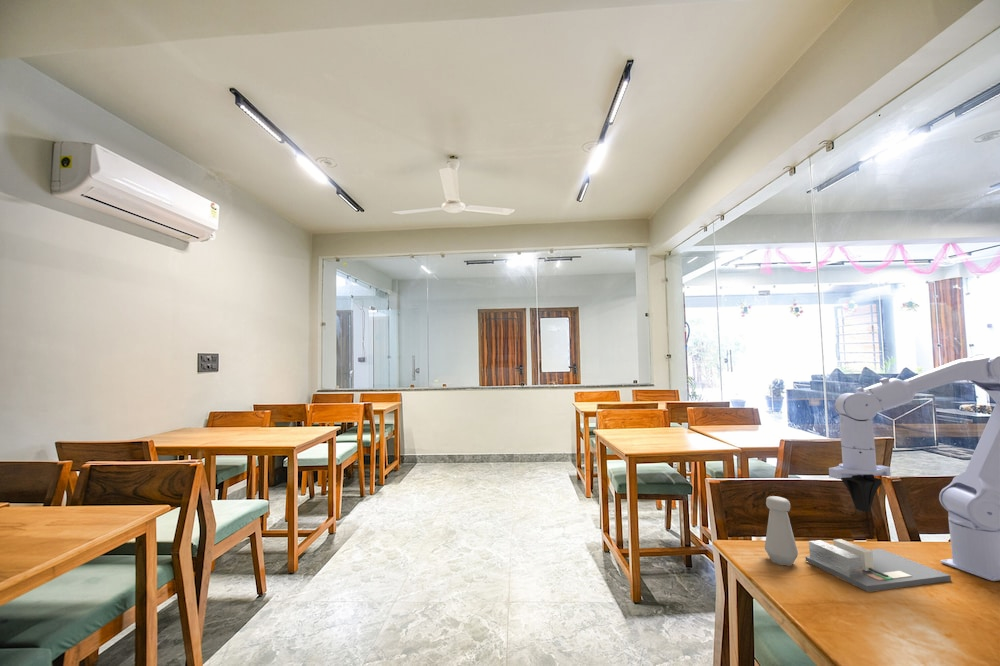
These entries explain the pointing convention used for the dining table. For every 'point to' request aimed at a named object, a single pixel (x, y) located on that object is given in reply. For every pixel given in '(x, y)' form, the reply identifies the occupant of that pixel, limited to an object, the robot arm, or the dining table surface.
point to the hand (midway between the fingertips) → (862, 510)
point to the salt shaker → (780, 532)
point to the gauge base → (890, 573)
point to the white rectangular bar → (859, 554)
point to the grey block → (836, 558)
